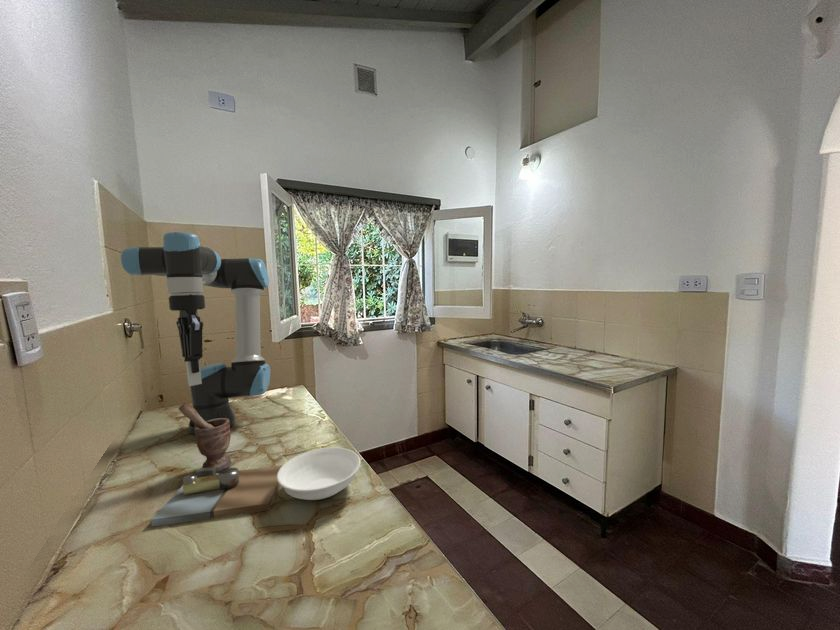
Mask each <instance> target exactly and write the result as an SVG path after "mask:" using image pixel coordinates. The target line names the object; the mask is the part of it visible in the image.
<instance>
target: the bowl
mask: <svg viewBox="0 0 840 630" xmlns="http://www.w3.org/2000/svg"><path fill="white" fill-rule="evenodd" d="M361 462H362V461H361V458H360V456H359V455H358V454H357V453H356V452H355V451H353V450H351V449H349V448H343V447H322V448H317V449H312V450H309V451H306V452H302V453H300V454H297V455H296V456H294V457H292V458H291V459H289V460H287V461H286V462H285V463H283V466H282V465H281V466H282V467H281V468H280V470H279V471H278V474H277V481H278V483H279V484H280V487H282V488H283V489H284V491H285V492H286V494H287V495H289V496H290V497H292V498H296V499H299V500H306V501H318V500H323V499H327V498H330V497H333V496H335V495H336V494H337V493H339V492H342V490H344V489H346V488H347V487H348V486H350V484H351V483H352V482H353V481H354V478H355V476H356V473H357V472H358V471H359V469H360V467H361V464H362V463H361Z"/></svg>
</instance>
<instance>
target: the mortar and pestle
mask: <svg viewBox="0 0 840 630" xmlns="http://www.w3.org/2000/svg"><path fill="white" fill-rule="evenodd" d="M178 410H179V412H180V413H181V414H182V415H184V416H185V417H186V418H188V419H189V421H190V420H192V421H193V422H194V423H195V424H196V426H195V428H194V431H195V434H194V436H195V443H196V446H197V448H198V451H199V453H200V454H201V455H202V456H204V457H206V459H205V461H204V462H203V463H202V467H201V468H211V467H216V473H220V472H221V471H223V470H225V469H228V468H231V465H232V460H231V458H230V456H228V455H226V454H225V453H226V451H227V450H228V448H229V447H230V443H231V442H230V441H231V427H230V421H229V419H227V418H217V419H212V420H208V421H204V420H203V418H202V417H201V416H200V415H199V414H198V413H197V411H196V410H195V409H194V408H193V406H192V405H191V404H190V403H188V402H184V403H183V404H182V405H180V406H179V407H178Z"/></svg>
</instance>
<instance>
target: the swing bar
mask: <svg viewBox="0 0 840 630" xmlns="http://www.w3.org/2000/svg"><path fill="white" fill-rule="evenodd" d="M238 471H239V468H237V467H228V468H226V469H224V470H222V471H219V472H218V473H219V474H217V475H211V476H206V477H200V478H195V476H196V475H195V474H194V473H191V474H188V475H185V476H184V477H182V482H183V484H182V486H183V494H184V495H187V494H192V493H198V492H203V491H209V490H214V489H230V488H232V487H234V486H236V485H237V484H238V483H239V473H238Z"/></svg>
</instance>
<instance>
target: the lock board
mask: <svg viewBox="0 0 840 630" xmlns="http://www.w3.org/2000/svg"><path fill="white" fill-rule="evenodd" d="M283 465H284V464H283ZM283 465H276V466H266V467H265V466H264V467H258V468H251V469H241V470H238V473H239V483H238V484H237V485H236V486H234V487H232V488H230V489H214V490H209V491H203V492H198V493H192V494H187V495H184V494H183V485H182V486H181V487H180V488H178V490H177V491H176V492H175V493H174V495H172V496H171V497H170V498H169V499H168V501H167V502H166V503H164V505H162V507H161V508H160V509H159V511H158V512H157V513H155V515H154V516H153V517H152V518H151V520H150V521H151V527H157V526H158V527H159V526H164V525H165V526H166V525H174V524H179V523H186V522H195V521H200V520H207V519H216V518H221V517H229V516H236V515H244V514H252V513H258V512H265V511H270V509H271V507H272V505H273V502H274V500H275V497H276V496H277V493H278V490H279V488H280V487H281V485H280V484H279V483H278V481H277V474H278V471H279V470H280V468H281V467H282V466H283ZM219 473H220V472H216V467H211V468H202V467H200V468H199V469H198V470H196V475H195V478H200V477H206V476H211V475H217V474H219Z"/></svg>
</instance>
